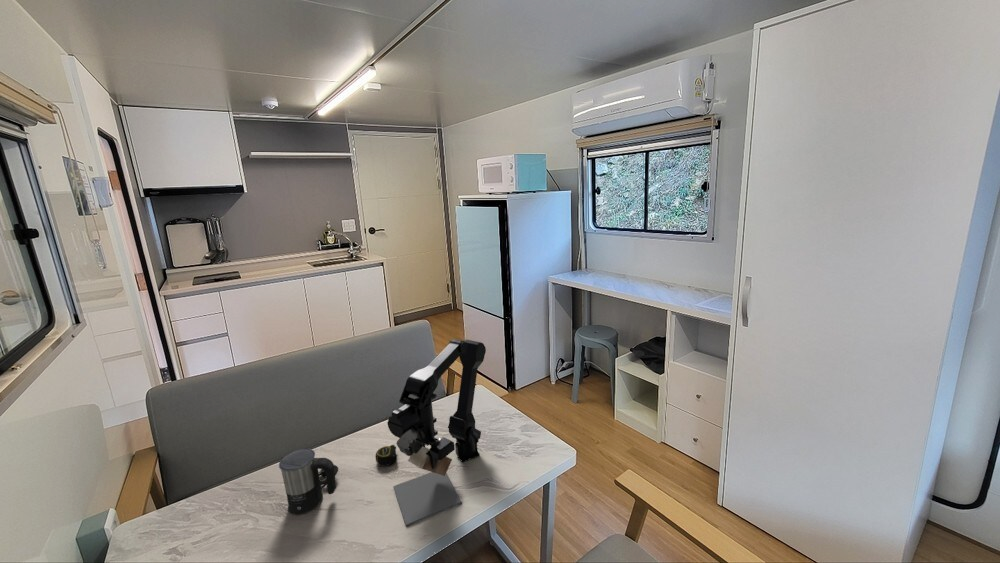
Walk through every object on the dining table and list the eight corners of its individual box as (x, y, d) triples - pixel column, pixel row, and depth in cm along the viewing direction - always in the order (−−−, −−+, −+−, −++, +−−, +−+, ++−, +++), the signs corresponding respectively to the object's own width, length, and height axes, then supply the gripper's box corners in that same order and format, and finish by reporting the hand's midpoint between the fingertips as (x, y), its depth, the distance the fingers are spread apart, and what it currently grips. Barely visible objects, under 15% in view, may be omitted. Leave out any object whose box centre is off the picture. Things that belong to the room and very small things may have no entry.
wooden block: (440, 453, 120) (416, 443, 111) (452, 459, 116) (427, 449, 108) (433, 469, 118) (407, 460, 109) (444, 476, 115) (419, 467, 106)
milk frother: (286, 520, 105) (277, 474, 102) (290, 483, 119) (282, 441, 116) (341, 501, 111) (334, 457, 108) (339, 468, 125) (332, 428, 122)
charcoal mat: (443, 469, 122) (443, 467, 122) (461, 503, 108) (461, 501, 108) (393, 487, 115) (393, 486, 115) (406, 526, 101) (405, 524, 101)
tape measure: (397, 465, 125) (396, 455, 125) (376, 470, 123) (375, 460, 123) (396, 452, 132) (395, 442, 131) (376, 457, 130) (375, 447, 129)
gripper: (379, 420, 108) (385, 467, 111) (423, 443, 97) (428, 495, 100) (410, 402, 116) (415, 447, 120) (453, 422, 105) (457, 471, 109)
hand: (427, 464), depth 112 cm, fingers closed on wooden block, 5 cm apart
